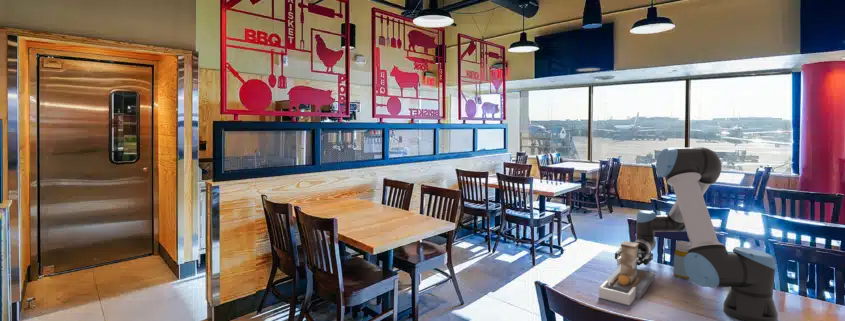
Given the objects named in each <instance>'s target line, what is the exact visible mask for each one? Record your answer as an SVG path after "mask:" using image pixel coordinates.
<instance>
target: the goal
mask: <svg viewBox="0 0 845 321" xmlns="http://www.w3.org/2000/svg"><path fill="white" fill-rule="evenodd" d="M604 281H605V280H604ZM604 281H603V282H604ZM603 282H602V283H603ZM602 283H601V285H600V286H599V287H598V299H600V300H604V301H608V302H610V303H611V302H612V303H616V304H619V305H623V306H627V307H631V305H632V303H633V302H634V301H635V300H636V299H637V298H636V297H635V295H636V287H632V289H631V290H630V291H629V292H628V293H624V292H620V291H616V290H612V289H608V284H609V281H605V282H604V283H603V284H602Z"/></svg>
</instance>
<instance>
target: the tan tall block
mask: <svg viewBox="0 0 845 321" xmlns="http://www.w3.org/2000/svg"><path fill="white" fill-rule="evenodd" d="M638 246H639V243H634V241H633V242H632V241H628V240H627V241H626V240H623V241H622V243H621V244H620V248H621V264H620V266H621V272H620V274H619V276H621V275H625V276H627V277H628V279H629V283H628V284H632V283H633V282H634V281H635V280H636V276H637V269H638V265H637V266H636V267H635V269H632V262H633V261H634V260H635V259H636V258H637V253H638ZM619 276H618V278H619Z"/></svg>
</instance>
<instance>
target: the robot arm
mask: <svg viewBox="0 0 845 321" xmlns="http://www.w3.org/2000/svg"><path fill="white" fill-rule="evenodd" d="M655 165H656V166H655V167H656V169H655V170H656V173H657V175H658V176H659V177H661V178H665V180H666V184H667V185H669V186H671V187H673V191H674V192H673V193H674V195H675V198H676V200H675V202H674V203H673V205H672V207H671V209H670V211H669V212H668V213H667V214H665V215H664V214H662V215H661V214H659V215H658V214H657V215H656V212H655V211H652V210H644V209H643V210H642V209H641V210H639V211H637V213H636V233H635V241H633V243H639V246H638V253H637V258H636V259H635V260H634V261H633V262H632V269H635V267H636V266H637V267H638V266H641V265H642V264H643V265H644V266H647V265H648V264H649V263H650V261H653V260H654V253H651V252H652V251H653V250H655V247H656V244H657V241H656V239H655V234H656V232H658V233H660V232H661V233H664V232H665V233H667V232H668V233H669V232H672V233H674V232H676V233H681V232H686V234H687V237H688V240H689V241H688V242H690V244H691V246H690V248H689V249H688V254H687V255H686V256H685V258H684V261H685V263H684V267H685V270H686V273H687V275H688V277H689V278H690V279H689V280H690V281H692V282H693V283H694V284H695V285H696V286H699V287H702V288H711V289H715V288H730V289H729V292H728V293H727V295H726V297H725V299H724V301H723V304H722V305H723V306H722V309H723V311H724V313H726V314H727V315H729V316H730V317H732V318H735V319H737V320H740V321H777V320H778V318H779V317H778V316H779V313H778V310H777V306H776V304H775V301H774V297H773V295H774V282H775V274H776V259H775V257H774V256H772V254H769V253H767V252H764V251H762V250H759V249H753V248H749V247H744V246H735V247H734V248H733V250H732V252H728V250H727V247H726V245H725V244H723V243H722V242H720V241H719V240H718V236H717V234H716V231H715V228H714V225H713V221H712V218H711V216H710V212H709V210H708V207H707V204H706V202H705V198H704V195H705V193H706V192H707V191H708V189H709V188H710V186H711V185H713V184H715V183H716V182H717V181H718V179H719V177H720V175H721V172H722V162H721V159H720V157H719V155H718V154H717V153H716V152H715V151H714V150H712V149H709V148H706V147H703V146H702V147H701V146H699V147H676V146H675V147H666V148H663V149H662V150H661V151H659V154H658V156H657V158H656V163H655ZM614 260H616V266H618V267H619V266H621V247H619V249H618V250H616V251H615V253H614Z"/></svg>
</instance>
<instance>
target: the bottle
mask: <svg viewBox="0 0 845 321" xmlns="http://www.w3.org/2000/svg"><path fill="white" fill-rule="evenodd" d="M690 246H691V244H690V241H685V240H677V241H676V242H675V250H674V257H673V273H672V274H673V276H675V277H676V278H679V279H683V280H691V279H690V278H689V277H688V275H687V273H686V270H685V267H684V263H685V261H684V258H685V256H686V255H687V254H688V249H689V248H690Z"/></svg>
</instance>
